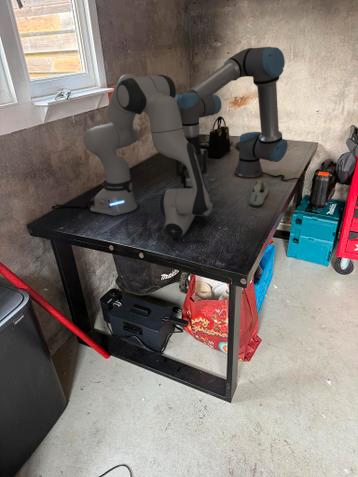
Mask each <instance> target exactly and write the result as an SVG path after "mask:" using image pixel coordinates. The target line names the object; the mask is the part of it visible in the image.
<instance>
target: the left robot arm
mask: <svg viewBox="0 0 358 477" xmlns="http://www.w3.org/2000/svg"><path fill="white" fill-rule="evenodd" d="M176 90H177V89H176V84H175V82H174V80H173V79H172V78H171V77H169V76H168V75H164V74H157V75H156V74H144V75H140V76H137V75H136V74H133V73H124V74H123V75H122V76H120V78H119V79H118V80H117V82H116V84H115V86H114V88H113V90H112V92H111V95H110V99H109V101H108V105H107V106H106V107H107V108H106V118H107V119H108V121H109V122H108V123H105V124H101V125H96V126H93V127H90V128H89V129H87V130H85V132H84V134H83V137H82V140H83V145H84V147H85V148H86V150H87V151H88V152H89V153H91V154H93V155H95V156H96V157H97V159H99V161H100V162H101V164H102V167H103V170H104V175H105V180H103V182H102V183H101V186H103V188H102V189H101V190H100V191H99V192H97V194H96V195H94V196H92V197H91V198H90V200H88V201H86V202H85V205H84V206H83V205H79V204H55V205H56V206H54V205H52V206H51V209H54V208H55V207H60V208H61V207H62V208H80V209H87V207H88V205H89V204H90V212H94V213H98V214H103V215H108V216H112V217H113V216H114V217H116V216H119V215H121V214H122V215H123V214H127V213H131V212H133V211H135V210H136V209H137V208H138V205H139V204H138V203H137V200H136V198H135V195H134V190H133V189H134V186H133V180H132V177H131V173H130V172H131V170H130V163H129V162H128V160H127V159H126V158H124V157H122V156H119V155H118V152H117V150H119V149H123V148H127V147H129V146H131V145H133V144H135V143H136V142H137V141H138V139H139V135H140V132H139V129H138V126H137V125H136V123H135V122H134V120H135V118H136V115H140V116H141V114H143V113H144V114H146V115H147V117H148V119H149V120H148V121H149V126H150V127H149V128H150V134H151V138H152V139H151V141H152V145H153V147H154V149H155V150H156V151H157V152H158V153H159V154H161V155H163V156H164V157H167V158H170V159H172V160H175V161H176V160H178V161H179V163H181V162H182V163H183V164H184V165H185V166H186V169H187V172H188V176H189V178H190V180H191V183H192V187H193V188H187V187H186V188H184V187H183V188H177V187H176V188H167V189H165V190H164V191H163V193H162V195H161V197H160V200H159V208H160V211H161V214H162V215H163V217H164V218H165V220H164V228H163V229H164V232H165V233H166V235H168V236H169V237H171V238H173V239H175V238H177V239H179V238H181V237H183V236H184V235H185V234H186V233H187V231H188V230H189V229H190V226H191V224H192V223H193V221H194V219H195V217H196V216H198V217H199V216H200V217H207V216H210V215H211V212H212V211H213V206H214V204H213V203H212V202H211V198H210V194H209V192H208V189H207V186H206V183H205V180H204V179H205V178H204V174H203V175H202V172H201V171H202V167H201V165H200V160H199V158H198V157H199V156H197V154H196V151H195V148H194V146H193V145H192V144H191V143H189V142H188V141H187V140H186V138H185V136H184V133H183V129H182V121H181V116H180V112H179V108H178V104H177V102H176V100H175V95H177V91H176ZM182 163H181V164H182ZM200 167H201V168H200Z"/></svg>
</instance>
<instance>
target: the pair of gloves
mask: <svg viewBox="0 0 358 477" xmlns="http://www.w3.org/2000/svg"><path fill="white" fill-rule="evenodd" d="M208 144H209V135H207V134H206V135H205V138H204V140H201V145H200V148H201V149H206V148H208ZM233 144H234V141H233V140H230V146H231V145H233Z"/></svg>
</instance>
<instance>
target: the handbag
mask: <svg viewBox="0 0 358 477" xmlns="http://www.w3.org/2000/svg"><path fill="white" fill-rule="evenodd" d="M222 122H223V126H221V125H222ZM216 123H217V124H216ZM216 125H217V126H216ZM215 126H216V127H217V128H215ZM208 136H209V144H208V147H207V154H206V158H212V159H220V158H222V157H224V156H225V155H227V154H228V153H230V152H231V145H230V141H231V139H230V136H231V134H230V128H229V126H227V124H226V120H225V118H224V117H223V116H221V115H219V116H218V117H217V118H216V119H215V121H214V123H213V125H212V128H211V129H210V131H209V135H208Z"/></svg>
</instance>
